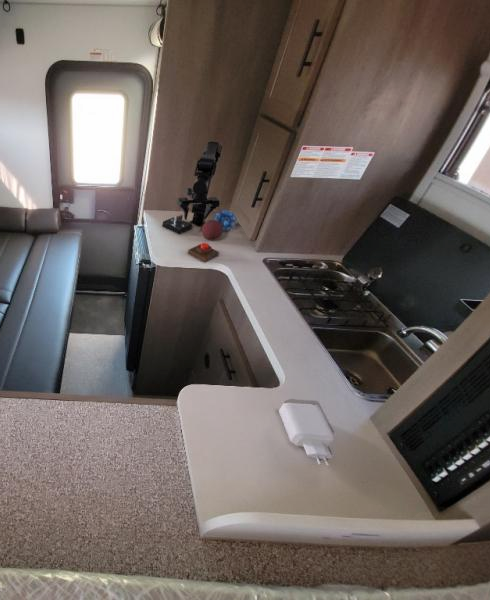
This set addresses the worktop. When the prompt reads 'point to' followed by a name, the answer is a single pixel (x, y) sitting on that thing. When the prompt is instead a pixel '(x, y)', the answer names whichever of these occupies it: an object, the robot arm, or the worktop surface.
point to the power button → (204, 246)
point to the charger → (308, 429)
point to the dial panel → (177, 226)
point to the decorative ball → (212, 229)
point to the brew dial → (178, 219)
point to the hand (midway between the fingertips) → (194, 219)
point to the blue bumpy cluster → (226, 219)
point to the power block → (203, 253)
